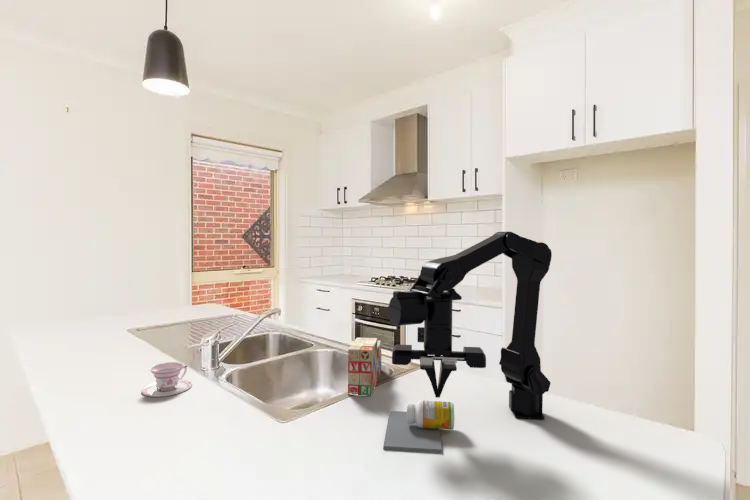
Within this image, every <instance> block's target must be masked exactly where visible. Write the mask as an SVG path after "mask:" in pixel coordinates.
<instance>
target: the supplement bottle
mask: <svg viewBox="0 0 750 500" xmlns="http://www.w3.org/2000/svg"><path fill="white" fill-rule="evenodd" d="M406 412H407V423H409V424H414V423H417V425H418V427H420V428H432V429H440V430H448V431H449V430H455V429H454V428H455V405H454V402H452V401H443V400H442V401H437V400H418V401H417V404H415V403H412V402H411V403H407V404H406Z"/></svg>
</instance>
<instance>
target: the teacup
mask: <svg viewBox="0 0 750 500" xmlns="http://www.w3.org/2000/svg"><path fill="white" fill-rule="evenodd" d="M187 368H188V365H186V364H185V363H184V362H182V361H181V362H180V361H173V362H171V361H170V362H163V363H158V364H156V365H153V366H151V367H149V368H148V370H149V371H150V373H152V374H153V377H154V378H155V382H153V383H151V384H148V385H147V386H145V387H143V388H142V390H141V394H142V395H143V396H145V397H150V398H159V397H160V398H162V397H169V396H173V395H174V396H175V395H177V394H181V393H184V392H186V391H188V390H189V389H191V388H192V386H193V383H192V382H191V381H190V380H187V379H183V378H184V377H185V375H186V373H187V371H188V369H187ZM181 370H184V371H183V373H182V375H181ZM179 375H180V376H179ZM153 386H156V388H158V390H160V391H158V390H157V389H154V388H153V389H154V390H155V391H154V392H153V394H152V395H150V394H148V393H147V389H149V388H151V387H153ZM175 387H177V388H175ZM156 390H157V391H156Z"/></svg>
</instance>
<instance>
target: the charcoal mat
mask: <svg viewBox="0 0 750 500" xmlns="http://www.w3.org/2000/svg"><path fill="white" fill-rule="evenodd" d="M440 430H441V429H432V428H420V427H418V425H417V423H414V424H409V423H407V411H401V410H400V411H399V410H397V411H396V410H389V413H388V417H387V424H386V429H385V435H384V440H383V445H382V447H383V450H393V451H406V450H407V451H408V452H409V451H410V452H422V451H425V453H441V454H442V452H443V451H442V440H441V432H440ZM407 451H406V452H407Z"/></svg>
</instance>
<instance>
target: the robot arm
mask: <svg viewBox="0 0 750 500" xmlns="http://www.w3.org/2000/svg"><path fill="white" fill-rule="evenodd" d="M500 255H504V256H506V257H507V258H510V259H511V268H512V270H513V273H514V275H515V277H516V292H515V300H514V301H515V303H514V312H513V321H512V322H513V324H512V335H511V341H510V343H509V344H508V345H507V347H504V346H502V347H501V349H500V360H499V363H498V365H500V371H501V372H502V374H503V375H504V378H505V380H506V383H508V384H511V389H510V390H509V391H508V408H509V410H510V411H511V412H512V414H513V417H514V418H516V419H528V420H529V419H532V420H545V419H546V416H545V415H544V413H543V404H544V403H543V398H544V397H543V396H544V395H545V393H547V392H549V390H550V386H551V381H550V379H548V377H547V376H546V375H545V374H544V373H543V372H542V369H541V368H542V367H541V366H542V365H541V357H540V355H539V352H538V350H537V347H536V344H535V343H536V332H537V331H536V329H537V320H538V311H539V301H540V300H539V299H540V291H541V290H540V288H541V282H542V281H543V279H544V278H545V276H546V275H547V274H548V272H549V270H550V266H551V262H552V256H553V255H552V250H551V248H550V247H549V246H548V244H546V243H544V242H540V241H539V242H538V241H536V240H532V239H530V238H527V237H524V236H520V235H519V234H517V233H515V232H513V231H497V232H495V233H493V234H492V235H491V236H489V237H487V238H485V239H483V240H481V241H480V242H478V243H475V244H474V245H472V246H470V247H468V248H465V249H464V250H462V251H461V252H458V253H456V254H453V255H449V256H444V257H443V256H442V257H438V258H436V259H432V260H428V261H426V262H424V263H423V265H422V266H421V269H420V272H419V273H420V274H419V275H418V277H417V278H416V280H415V282H413V285H412V286H411V287H410V289H409V291H405V290H404V291H402V290H393V292H392V294H393V295H392V297H391V299H390V300H389V303H388V304H389V305H388V306H387V315H388V319H389V322H390V323H391V325H392V326H393V327H399V326H400V327H401V326H410V325H420V324H422V323H424V324H423V325H424V326H423V327H422V326H421V327H420V326H419V327H418V326H417V343H423V349H413V347H412V346H413V345H412V344H395V345H394V346H393V348H392V352H391V353H392V354H391V364H392V365H395V366H396V365H397V366H408V365H409V364H410V363H411V362H412V360H419V369H420V370H422V371H425V373H426V375H427V377H428V379H429V381H430V383H431V387H432V389H433V390H432V391H433V392H434V393H433V394H434V396H435V398H441V394H442V393H443V390H444V387H445V385H446V382H447V380H448V379H449V377H450V375H451V374H452V372H457V362H465V364H466V365H467V366H468V367H469V368H471V369H485V368H487V357H486V354H485V351H484V350H483V349H482V348H481V347H480V346H479V347H478V346H463V348H462V351H458V350H457V351H456V350H455V351H454V350H453V301H460V300H462V299H463V298H462V297H463V296H461V295H460V294H459V292H457V291H456V289H455V287H456V286H457V285H458V284H459V285H460V283H461V282H462V281H463V280H464V278H465V276H466V275H467V274H468V273H470V272H471V271H473V270H474V269H476V268H479V267H480V266H482V265H484V264H485V263H488V262H489V261H490V260H493V259H495V258H497V257H499V256H500ZM435 361H440V364H439V365H440V366H439V367H440V368H439V375H438V381H437V375H436V374H437V373H436V367H435V366H436V365H435Z"/></svg>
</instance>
